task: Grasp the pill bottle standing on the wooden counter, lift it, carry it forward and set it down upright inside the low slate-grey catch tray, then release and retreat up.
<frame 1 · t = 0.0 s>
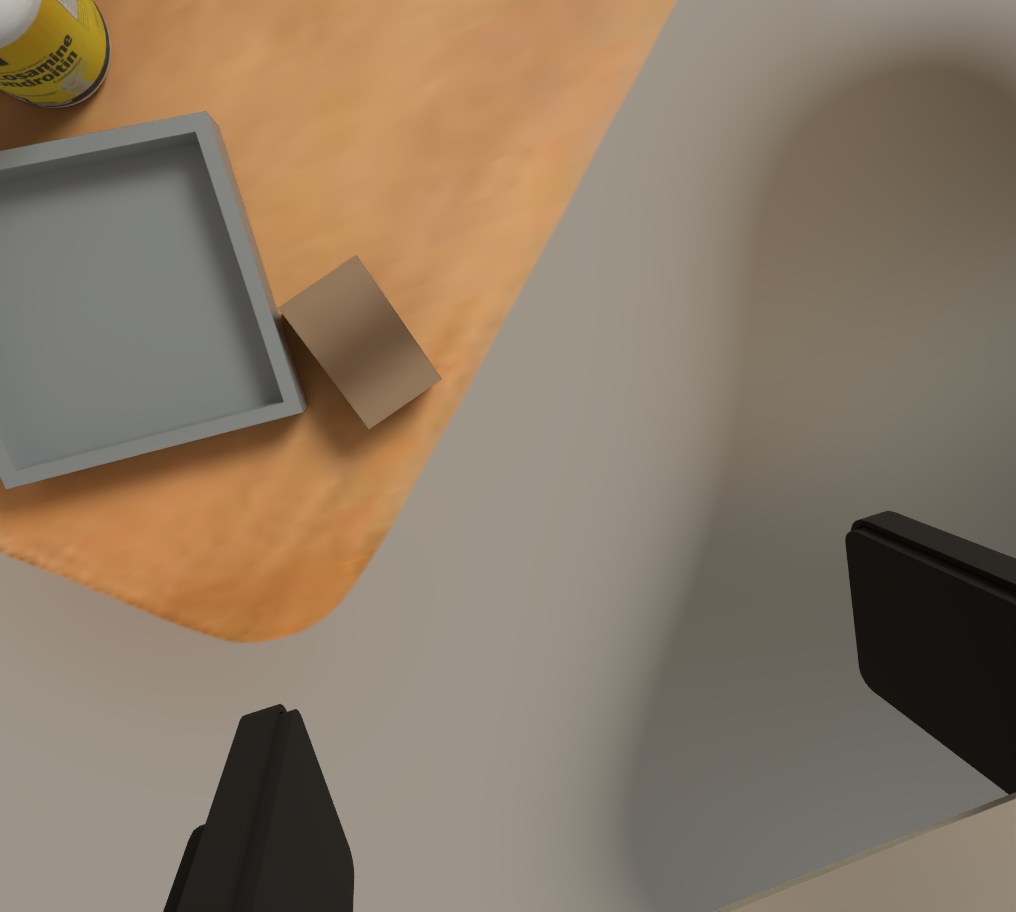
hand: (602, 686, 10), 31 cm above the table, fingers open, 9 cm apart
walnut block: (363, 342, 39), on the table
catch tray: (122, 305, 36), on the table
pill bottle: (47, 43, 33), on the table
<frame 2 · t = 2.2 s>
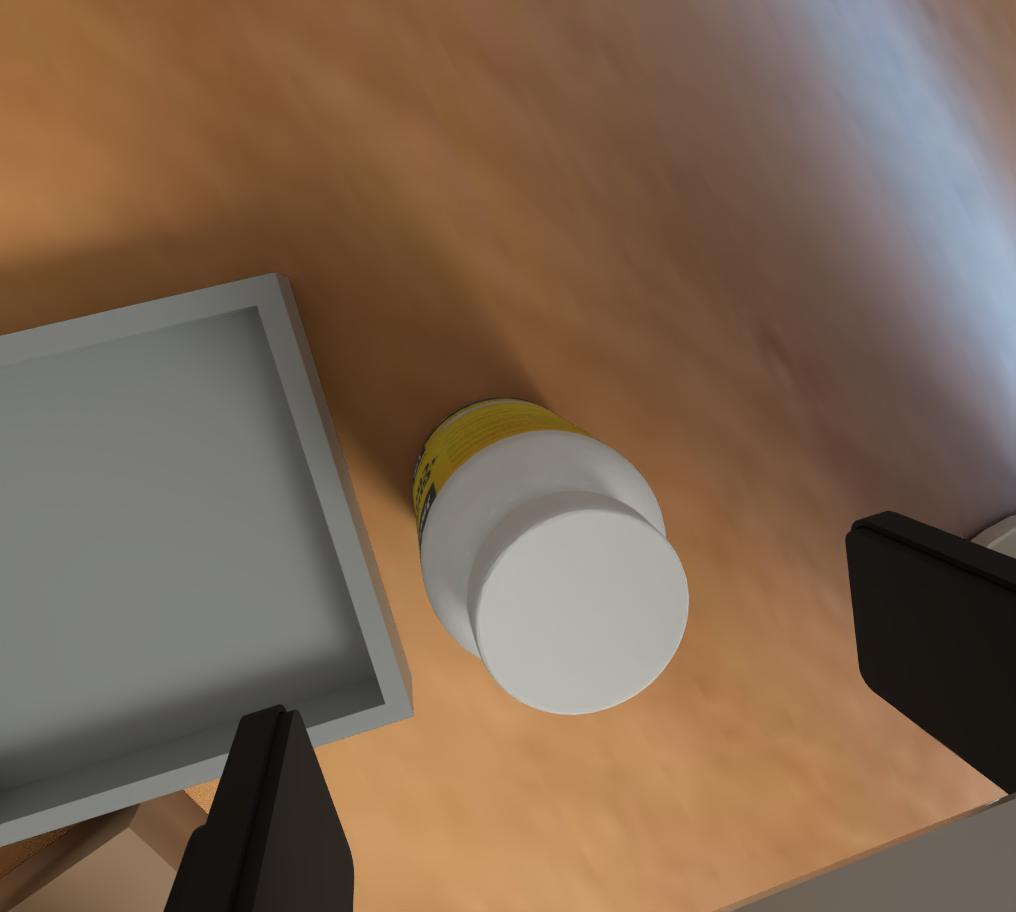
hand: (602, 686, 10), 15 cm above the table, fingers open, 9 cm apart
walnut block: (117, 871, 25), on the table
catch tray: (136, 552, 23), on the table
pill bottle: (497, 479, 25), on the table
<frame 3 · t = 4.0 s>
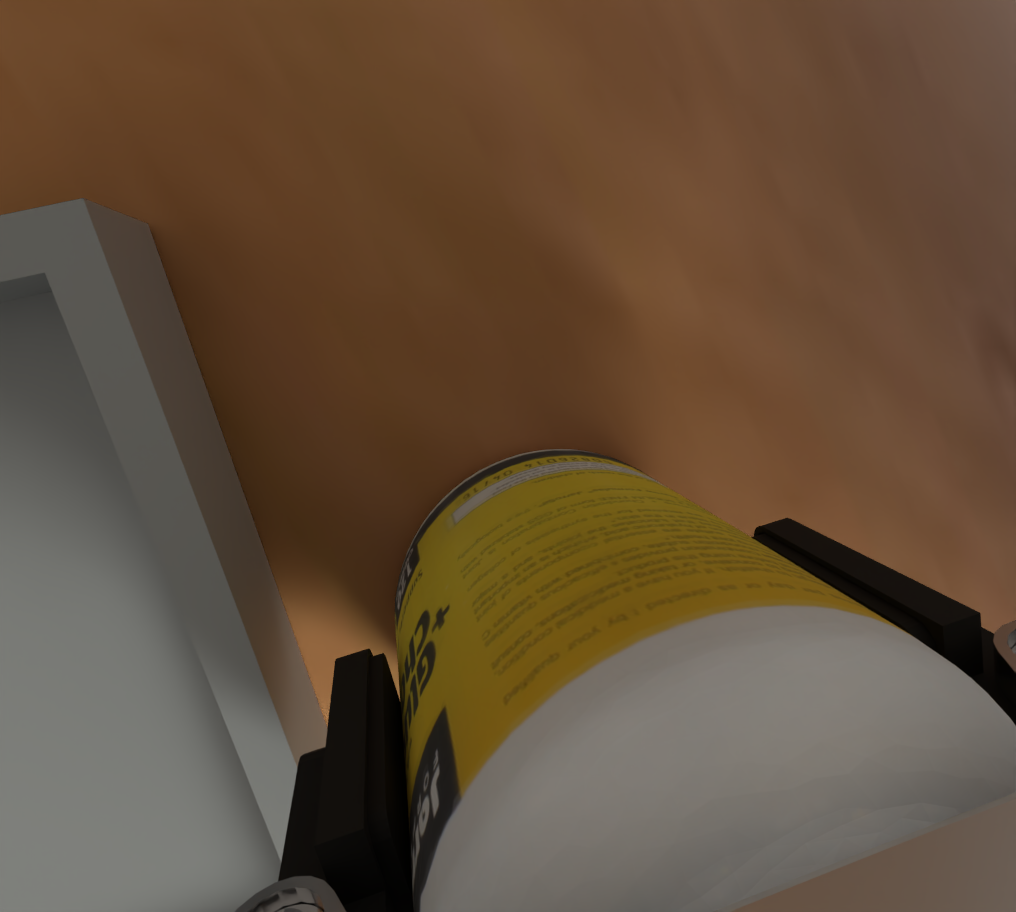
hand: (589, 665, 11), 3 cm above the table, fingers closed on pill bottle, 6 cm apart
pill bottle: (542, 585, 14), on the table, touching gripper
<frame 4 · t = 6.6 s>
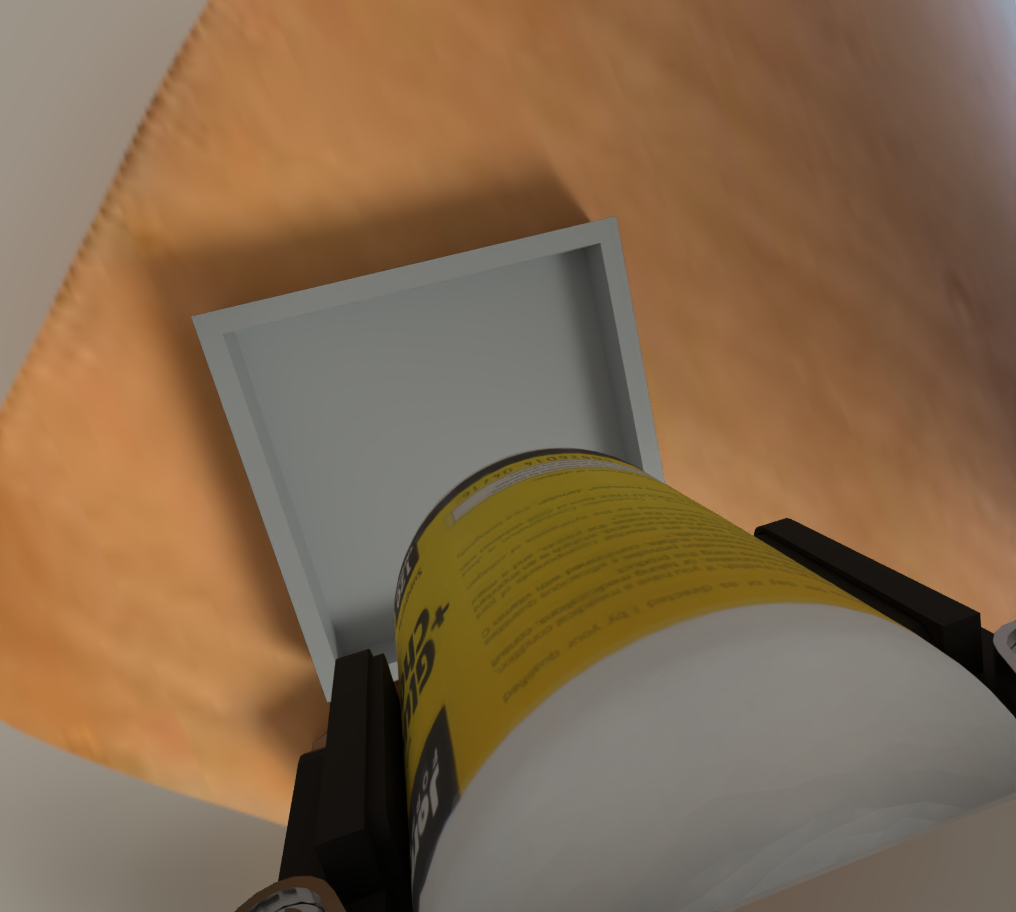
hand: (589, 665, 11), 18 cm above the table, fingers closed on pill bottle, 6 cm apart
catch tray: (458, 454, 28), on the table
pill bottle: (542, 584, 14), point 14 cm above the table, touching gripper
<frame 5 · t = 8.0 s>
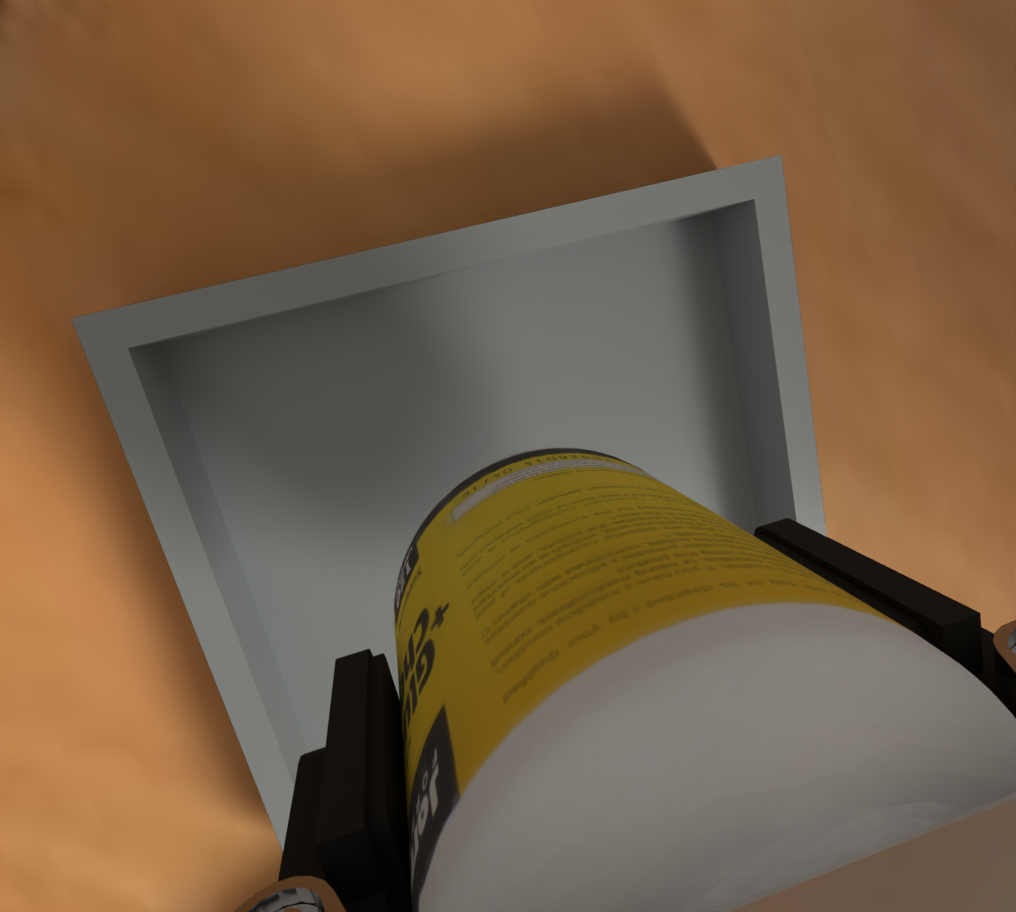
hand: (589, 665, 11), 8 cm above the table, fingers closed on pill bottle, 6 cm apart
catch tray: (511, 527, 18), on the table
pill bottle: (542, 584, 14), point 4 cm above the table, touching gripper
when the fingers open (5 cm above the table, at t = 9.3 s): pill bottle drops 2 cm, resting on catch tray.
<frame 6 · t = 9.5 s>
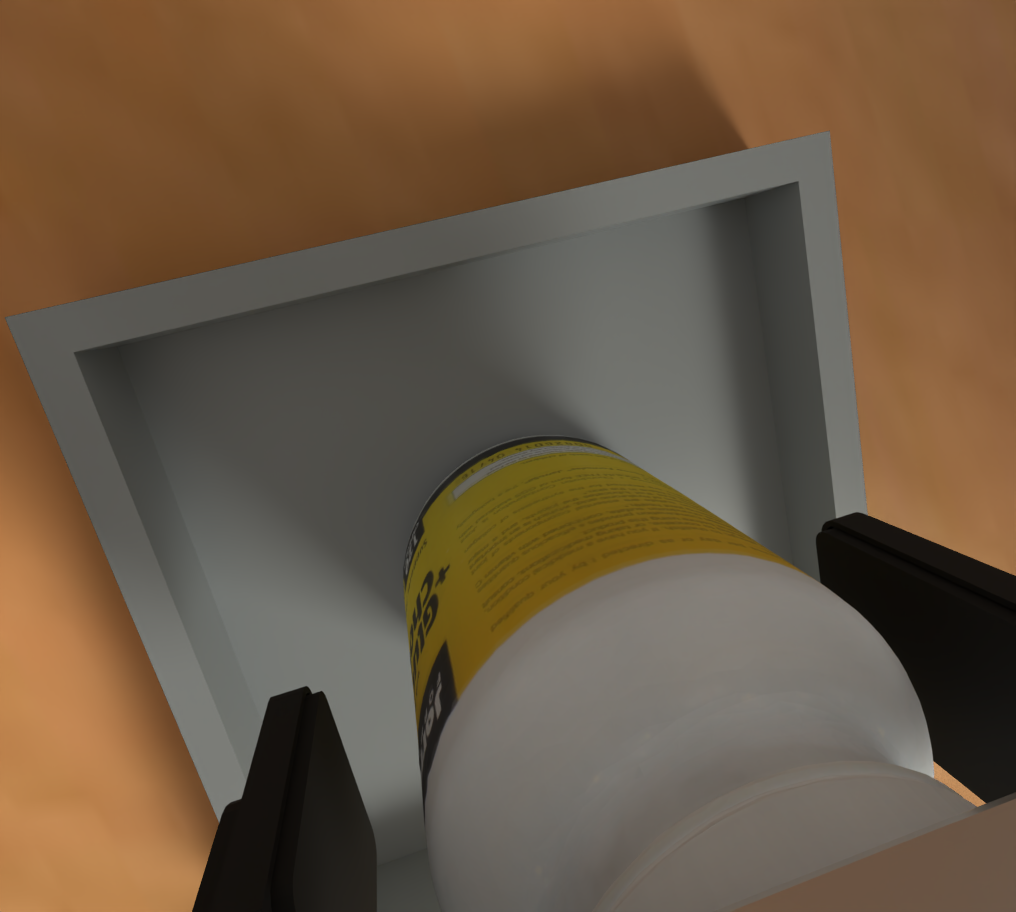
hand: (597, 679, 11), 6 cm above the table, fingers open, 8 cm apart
catch tray: (518, 550, 17), on the table
pill bottle: (533, 556, 16), resting on catch tray
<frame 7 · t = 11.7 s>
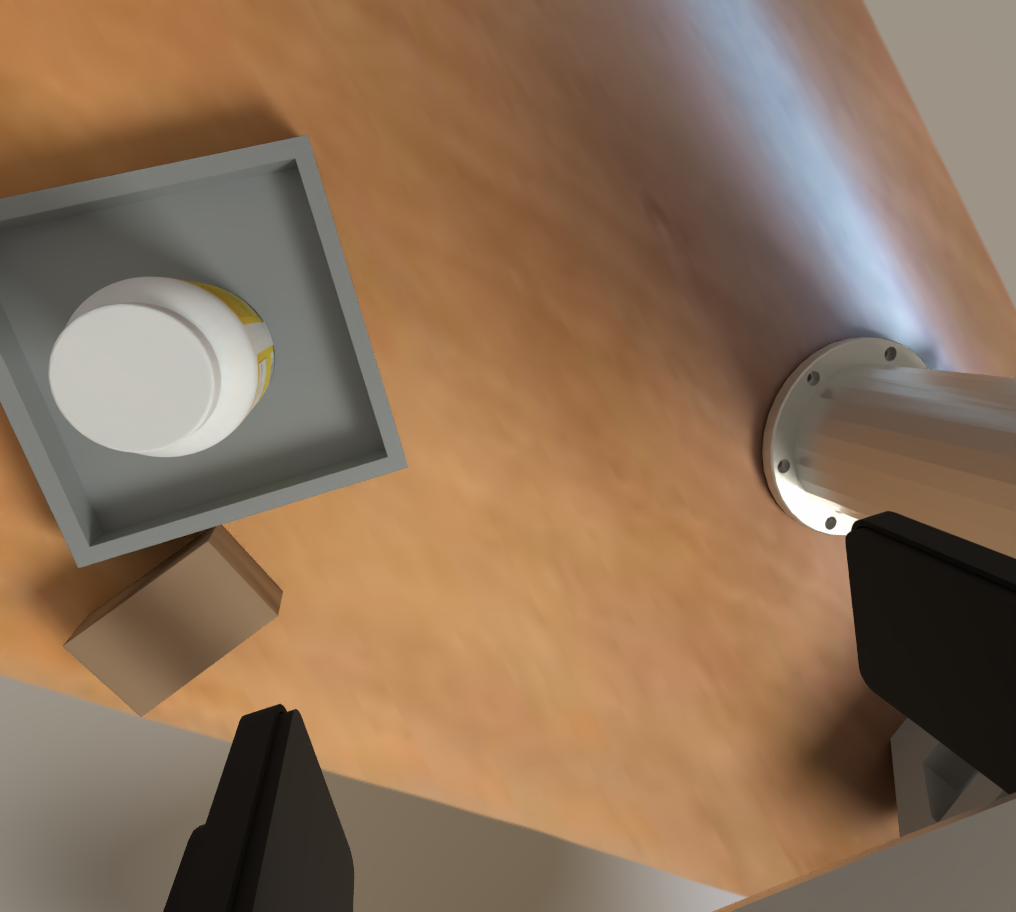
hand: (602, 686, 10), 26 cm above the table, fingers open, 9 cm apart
walnut block: (187, 603, 34), on the table
sharpening stone: (963, 701, 50), on the table
catch tray: (201, 353, 32), on the table
pill bottle: (206, 354, 31), resting on catch tray
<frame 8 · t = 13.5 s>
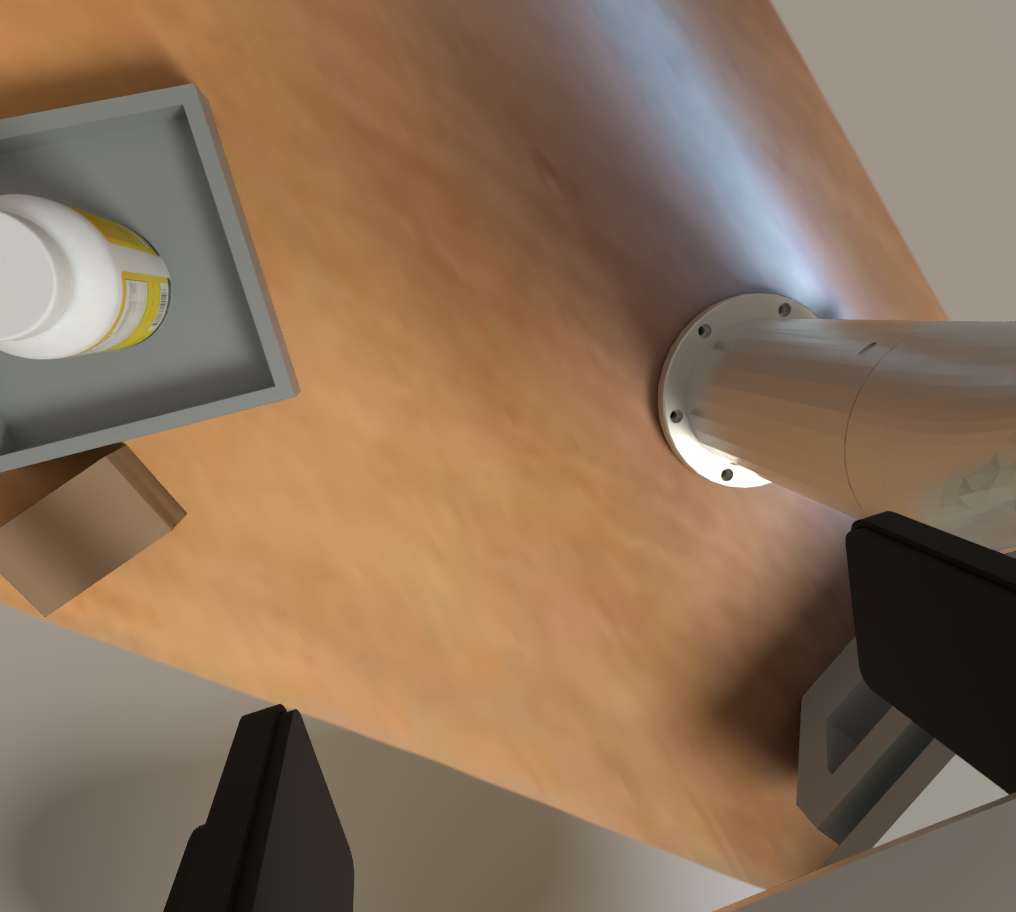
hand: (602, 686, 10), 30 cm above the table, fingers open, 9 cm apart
walnut block: (97, 520, 37), on the table
sharpening stone: (880, 665, 51), on the table
catch tray: (108, 286, 35), on the table
pill bottle: (111, 287, 34), resting on catch tray
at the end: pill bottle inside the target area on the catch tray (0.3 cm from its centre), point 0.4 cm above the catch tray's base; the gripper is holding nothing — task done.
